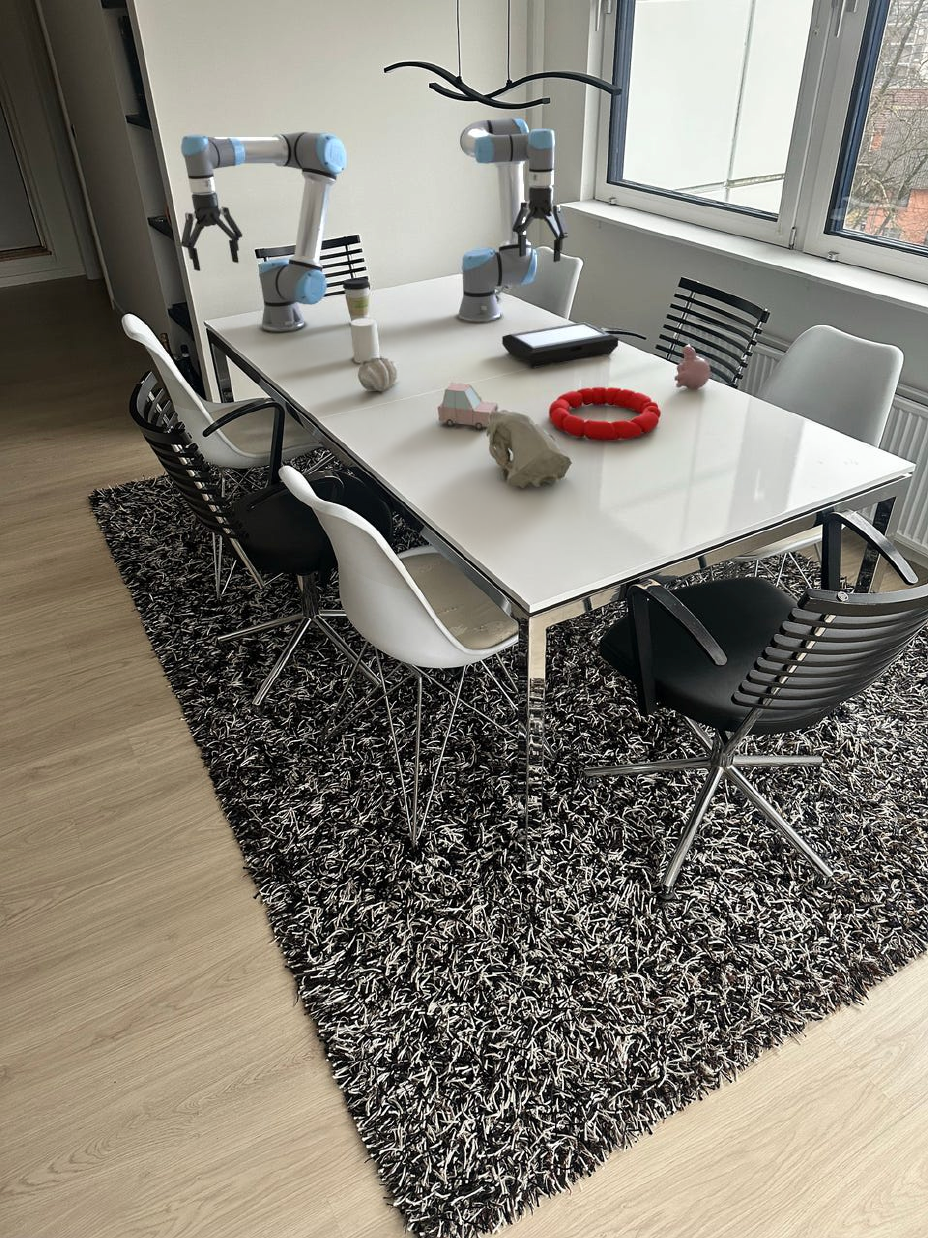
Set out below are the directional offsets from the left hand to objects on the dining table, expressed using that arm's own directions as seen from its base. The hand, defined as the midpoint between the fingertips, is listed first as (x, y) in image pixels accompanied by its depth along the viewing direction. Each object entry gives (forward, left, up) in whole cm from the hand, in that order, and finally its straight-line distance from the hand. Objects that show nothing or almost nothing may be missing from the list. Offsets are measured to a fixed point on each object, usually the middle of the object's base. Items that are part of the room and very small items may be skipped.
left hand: (216, 265), depth 282 cm
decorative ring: (+84, +103, -29) cm, 136 cm away
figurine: (+66, +135, -29) cm, 153 cm away
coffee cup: (-27, +45, -29) cm, 60 cm away
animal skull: (+109, +74, -29) cm, 135 cm away
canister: (+14, +44, -29) cm, 55 cm away
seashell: (+44, +45, -29) cm, 70 cm away
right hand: (+12, +102, -2) cm, 103 cm away
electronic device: (+25, +106, -29) cm, 113 cm away
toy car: (+76, +67, -29) cm, 105 cm away
